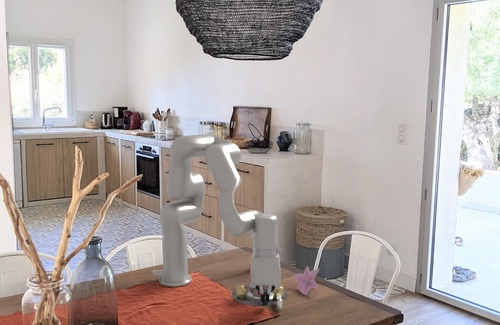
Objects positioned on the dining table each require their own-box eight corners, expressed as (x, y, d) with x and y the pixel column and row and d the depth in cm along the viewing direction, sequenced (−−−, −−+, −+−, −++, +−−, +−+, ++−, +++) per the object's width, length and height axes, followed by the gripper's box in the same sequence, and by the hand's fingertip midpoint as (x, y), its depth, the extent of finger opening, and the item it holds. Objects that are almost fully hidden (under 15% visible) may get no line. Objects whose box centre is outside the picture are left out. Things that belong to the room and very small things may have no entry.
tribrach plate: (230, 308, 170) (230, 293, 170) (233, 286, 190) (233, 272, 189) (289, 309, 170) (289, 294, 169) (285, 287, 190) (285, 273, 189)
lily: (293, 288, 192) (285, 270, 187) (321, 276, 192) (314, 258, 187) (301, 309, 181) (293, 291, 177) (331, 297, 181) (323, 279, 177)
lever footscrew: (272, 296, 178) (273, 284, 177) (282, 296, 178) (283, 284, 177) (274, 311, 165) (274, 298, 165) (285, 311, 165) (285, 299, 165)
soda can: (269, 290, 183) (270, 258, 182) (268, 297, 176) (268, 265, 175) (250, 289, 184) (251, 258, 182) (248, 296, 177) (248, 264, 175)
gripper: (287, 248, 169) (286, 299, 172) (243, 247, 169) (243, 299, 172) (289, 255, 162) (287, 309, 164) (243, 254, 162) (242, 308, 164)
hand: (265, 303), depth 168 cm, fingers closed
